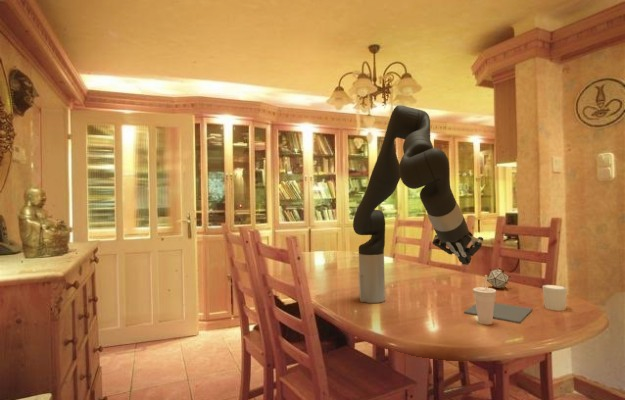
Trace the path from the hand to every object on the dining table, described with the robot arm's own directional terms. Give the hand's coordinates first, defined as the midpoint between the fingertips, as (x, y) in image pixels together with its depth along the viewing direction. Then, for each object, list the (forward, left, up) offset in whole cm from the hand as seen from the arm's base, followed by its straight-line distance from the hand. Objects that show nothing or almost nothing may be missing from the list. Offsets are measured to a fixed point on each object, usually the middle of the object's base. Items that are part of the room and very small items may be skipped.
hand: (466, 261), depth 98 cm
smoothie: (+9, +11, -20) cm, 24 cm away
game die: (+31, +51, -20) cm, 63 cm away
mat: (+17, +21, -20) cm, 33 cm away
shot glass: (+37, +24, -20) cm, 48 cm away
